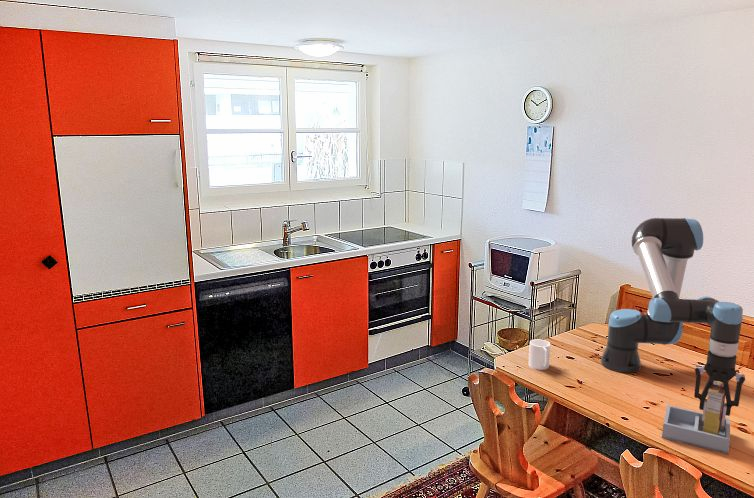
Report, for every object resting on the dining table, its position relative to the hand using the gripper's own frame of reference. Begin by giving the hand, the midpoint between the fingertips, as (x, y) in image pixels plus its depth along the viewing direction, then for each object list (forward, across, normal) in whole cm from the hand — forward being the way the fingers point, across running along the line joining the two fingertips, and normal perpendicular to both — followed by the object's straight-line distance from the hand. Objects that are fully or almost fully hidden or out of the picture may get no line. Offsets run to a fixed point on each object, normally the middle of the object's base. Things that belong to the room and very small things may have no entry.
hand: (713, 421), depth 174 cm
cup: (+6, -61, +26) cm, 67 cm away
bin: (+6, -4, 0) cm, 8 cm away
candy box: (+3, 0, 0) cm, 3 cm away
